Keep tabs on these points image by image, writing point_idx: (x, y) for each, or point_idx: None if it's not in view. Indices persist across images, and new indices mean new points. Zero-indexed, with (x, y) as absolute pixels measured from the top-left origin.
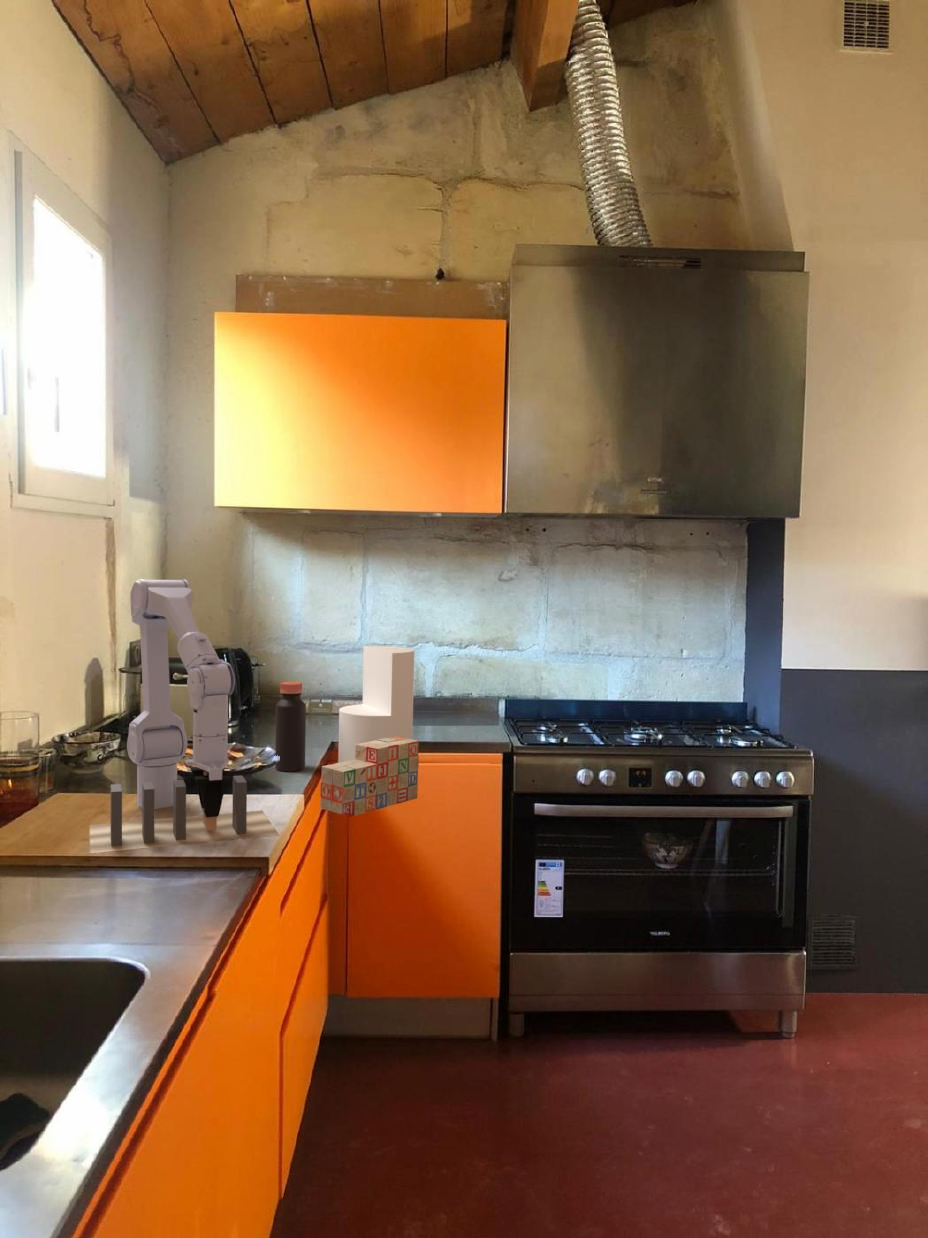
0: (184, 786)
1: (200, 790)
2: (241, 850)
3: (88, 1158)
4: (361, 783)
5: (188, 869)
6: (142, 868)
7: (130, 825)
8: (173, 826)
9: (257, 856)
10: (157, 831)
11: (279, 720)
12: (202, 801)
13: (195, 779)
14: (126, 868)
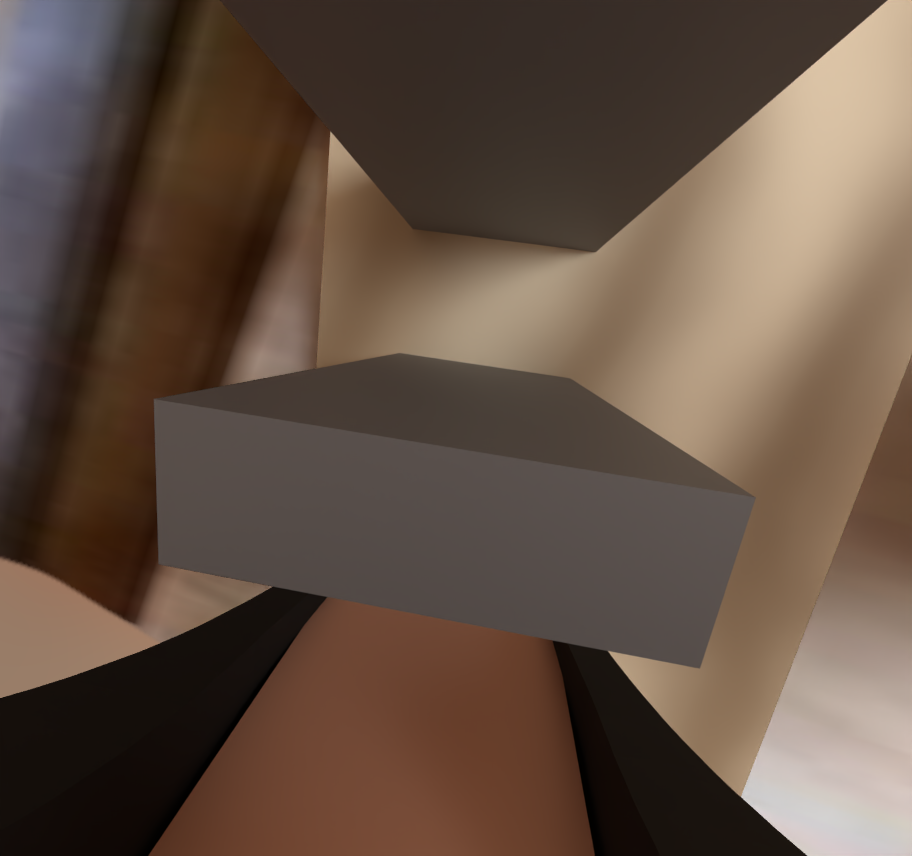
0: (172, 544)
1: (158, 687)
2: (239, 591)
3: None
4: None
5: (64, 324)
6: (131, 116)
7: (881, 142)
8: (548, 378)
9: (147, 616)
10: (626, 293)
11: None
12: (557, 645)
13: (651, 831)
14: (153, 29)
